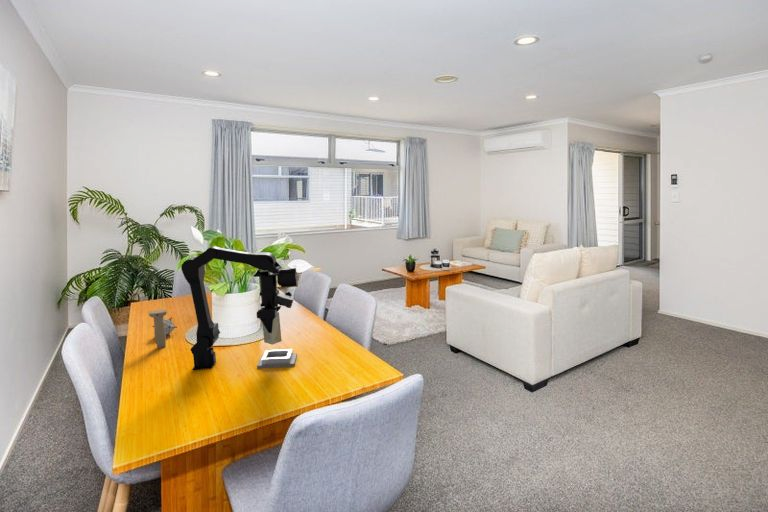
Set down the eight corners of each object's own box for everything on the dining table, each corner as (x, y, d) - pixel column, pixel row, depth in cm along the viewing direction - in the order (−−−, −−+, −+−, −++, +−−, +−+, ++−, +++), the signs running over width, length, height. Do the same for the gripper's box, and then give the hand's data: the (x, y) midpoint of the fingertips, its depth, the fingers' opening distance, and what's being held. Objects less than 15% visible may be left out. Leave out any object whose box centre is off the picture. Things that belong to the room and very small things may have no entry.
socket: (257, 368, 150) (256, 360, 150) (262, 357, 160) (261, 350, 160) (294, 366, 152) (293, 358, 151) (297, 355, 161) (296, 348, 161)
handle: (169, 347, 172) (166, 312, 170) (151, 350, 170) (148, 314, 168) (170, 343, 177) (167, 309, 175) (153, 346, 174) (149, 311, 172)
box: (282, 341, 154) (279, 312, 153) (272, 345, 151) (270, 315, 149) (272, 338, 158) (270, 310, 156) (263, 342, 154) (260, 312, 152)
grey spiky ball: (162, 343, 189) (154, 323, 191) (181, 333, 192) (173, 314, 194) (156, 339, 181) (147, 319, 183) (176, 330, 183) (167, 310, 186)
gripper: (288, 292, 143) (291, 337, 145) (294, 281, 161) (296, 321, 164) (254, 294, 142) (258, 339, 144) (264, 282, 160) (267, 322, 162)
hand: (271, 330), depth 154 cm, fingers closed on box, 6 cm apart
